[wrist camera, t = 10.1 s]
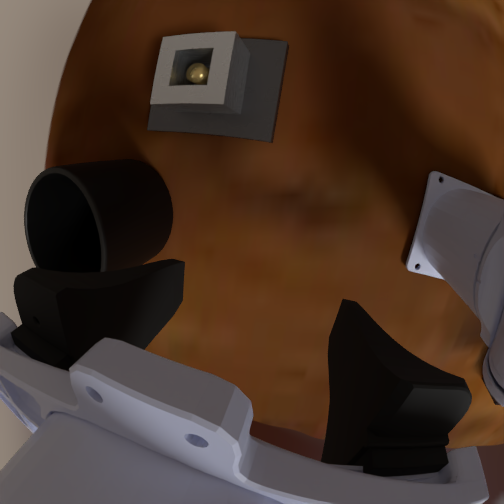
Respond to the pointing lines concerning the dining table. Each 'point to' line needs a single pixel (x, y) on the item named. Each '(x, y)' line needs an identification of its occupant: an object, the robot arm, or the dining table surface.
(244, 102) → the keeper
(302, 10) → the dining table surface
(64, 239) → the mug
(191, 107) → the gray square hollow block
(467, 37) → the dining table surface
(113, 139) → the dining table surface
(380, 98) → the dining table surface
